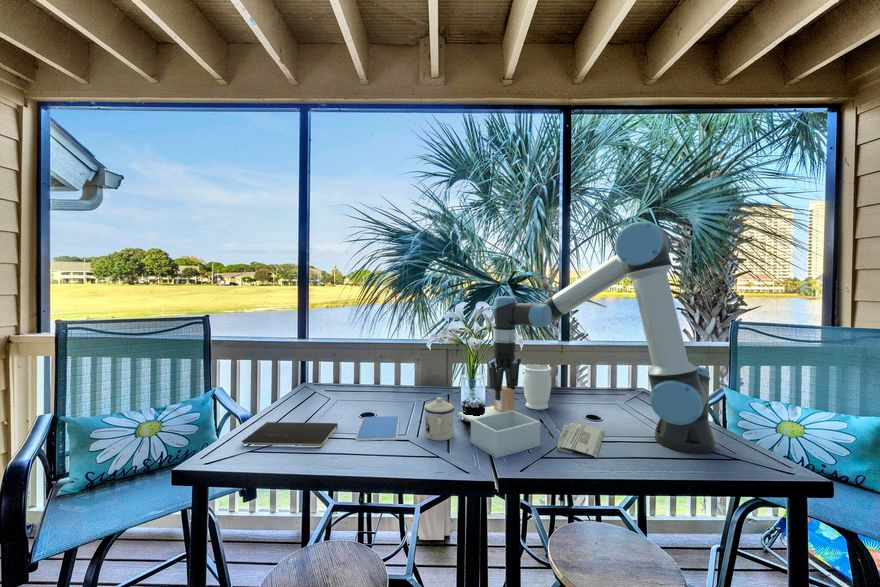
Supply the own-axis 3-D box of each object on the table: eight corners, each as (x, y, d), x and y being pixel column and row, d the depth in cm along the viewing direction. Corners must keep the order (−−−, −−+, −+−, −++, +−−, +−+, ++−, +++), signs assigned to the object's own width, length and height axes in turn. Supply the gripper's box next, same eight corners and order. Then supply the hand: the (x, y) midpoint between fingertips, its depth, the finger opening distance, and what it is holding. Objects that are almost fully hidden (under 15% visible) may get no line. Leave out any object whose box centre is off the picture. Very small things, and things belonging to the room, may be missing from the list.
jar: (554, 411, 147) (554, 370, 146) (525, 411, 147) (526, 370, 147) (547, 402, 158) (547, 364, 157) (520, 402, 158) (520, 364, 157)
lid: (520, 417, 136) (520, 391, 136) (480, 426, 127) (480, 399, 127) (496, 407, 147) (496, 383, 146) (458, 415, 138) (458, 389, 138)
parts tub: (540, 445, 116) (540, 421, 116) (496, 458, 108) (496, 432, 108) (512, 432, 127) (512, 410, 126) (470, 442, 119) (470, 419, 118)
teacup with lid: (425, 429, 128) (425, 393, 128) (453, 430, 128) (454, 393, 128) (423, 445, 116) (423, 405, 116) (454, 445, 116) (454, 405, 116)
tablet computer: (397, 442, 120) (397, 437, 120) (354, 442, 119) (354, 438, 119) (399, 419, 140) (399, 415, 139) (362, 420, 139) (362, 416, 139)
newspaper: (564, 427, 133) (565, 419, 133) (603, 437, 127) (605, 430, 127) (549, 452, 113) (550, 443, 113) (595, 466, 107) (596, 457, 107)
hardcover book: (321, 450, 114) (321, 442, 114) (241, 449, 115) (241, 441, 115) (337, 429, 130) (337, 422, 130) (267, 428, 131) (267, 421, 131)
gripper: (514, 338, 147) (514, 401, 148) (479, 341, 139) (478, 409, 139) (529, 340, 140) (528, 407, 141) (492, 344, 132) (492, 415, 133)
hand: (503, 408), depth 140 cm, fingers closed on lid, 3 cm apart
